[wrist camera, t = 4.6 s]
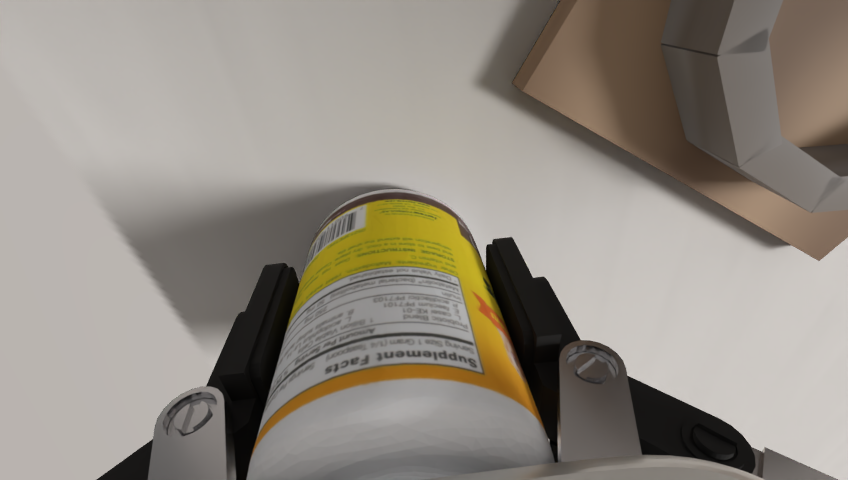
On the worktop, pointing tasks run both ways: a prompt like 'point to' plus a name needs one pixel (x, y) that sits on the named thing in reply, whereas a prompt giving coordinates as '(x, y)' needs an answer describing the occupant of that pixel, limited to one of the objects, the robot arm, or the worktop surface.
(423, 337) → the supplement bottle
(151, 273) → the worktop surface
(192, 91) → the worktop surface
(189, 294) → the worktop surface
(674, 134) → the rosette collar
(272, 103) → the worktop surface
